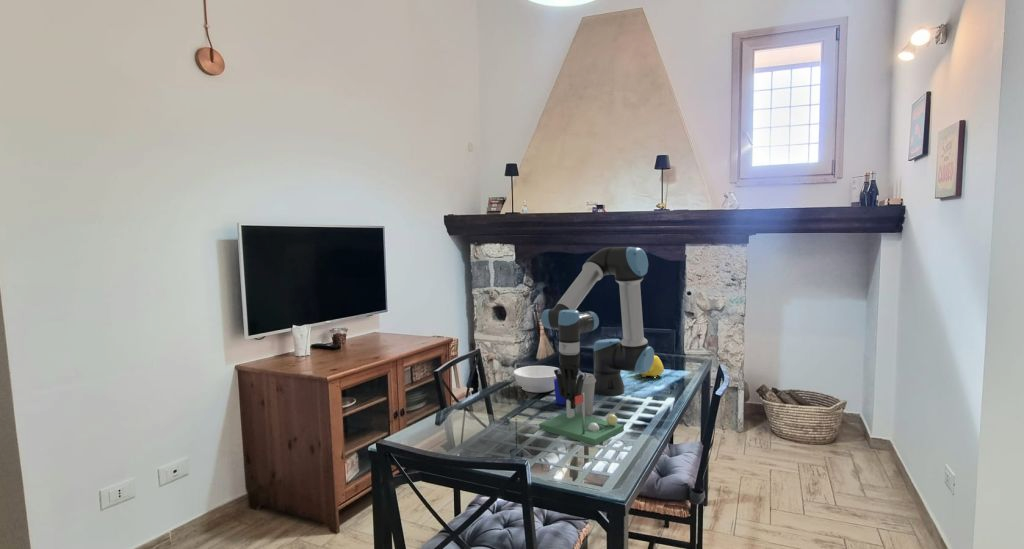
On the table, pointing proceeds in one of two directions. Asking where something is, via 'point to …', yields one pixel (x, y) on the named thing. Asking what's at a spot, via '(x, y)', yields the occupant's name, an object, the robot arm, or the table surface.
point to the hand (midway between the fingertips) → (570, 416)
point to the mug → (558, 394)
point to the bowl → (536, 378)
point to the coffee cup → (587, 394)
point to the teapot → (654, 368)
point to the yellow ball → (611, 419)
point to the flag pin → (579, 400)
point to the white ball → (593, 427)
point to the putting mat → (574, 428)
